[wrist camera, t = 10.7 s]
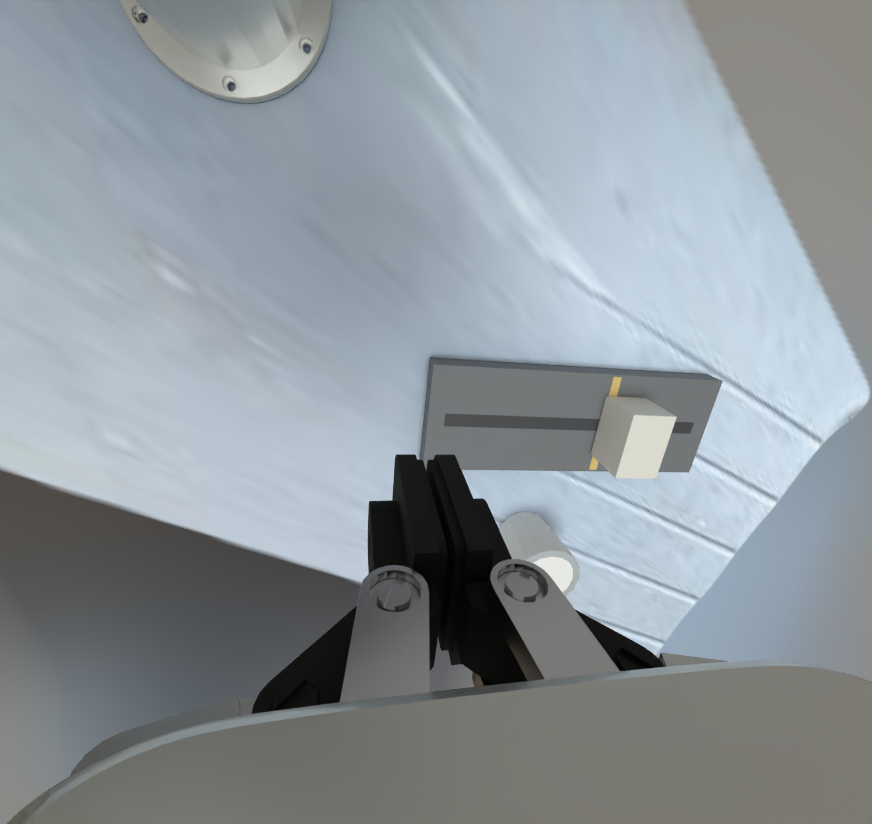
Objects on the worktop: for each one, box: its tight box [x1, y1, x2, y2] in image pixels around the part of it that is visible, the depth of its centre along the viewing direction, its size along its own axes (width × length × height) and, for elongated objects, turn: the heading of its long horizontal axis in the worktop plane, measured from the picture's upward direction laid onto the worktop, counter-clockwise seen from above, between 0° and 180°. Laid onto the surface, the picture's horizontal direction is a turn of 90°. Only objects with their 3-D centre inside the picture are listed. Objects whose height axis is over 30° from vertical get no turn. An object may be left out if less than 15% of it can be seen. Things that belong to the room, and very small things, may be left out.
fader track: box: [420, 358, 722, 472], centre depth 42 cm, size 28×10×2 cm, turn 84°
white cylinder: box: [499, 512, 580, 596], centre depth 45 cm, size 7×7×7 cm
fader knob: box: [591, 396, 677, 479], centre depth 40 cm, size 4×6×4 cm, turn 174°
